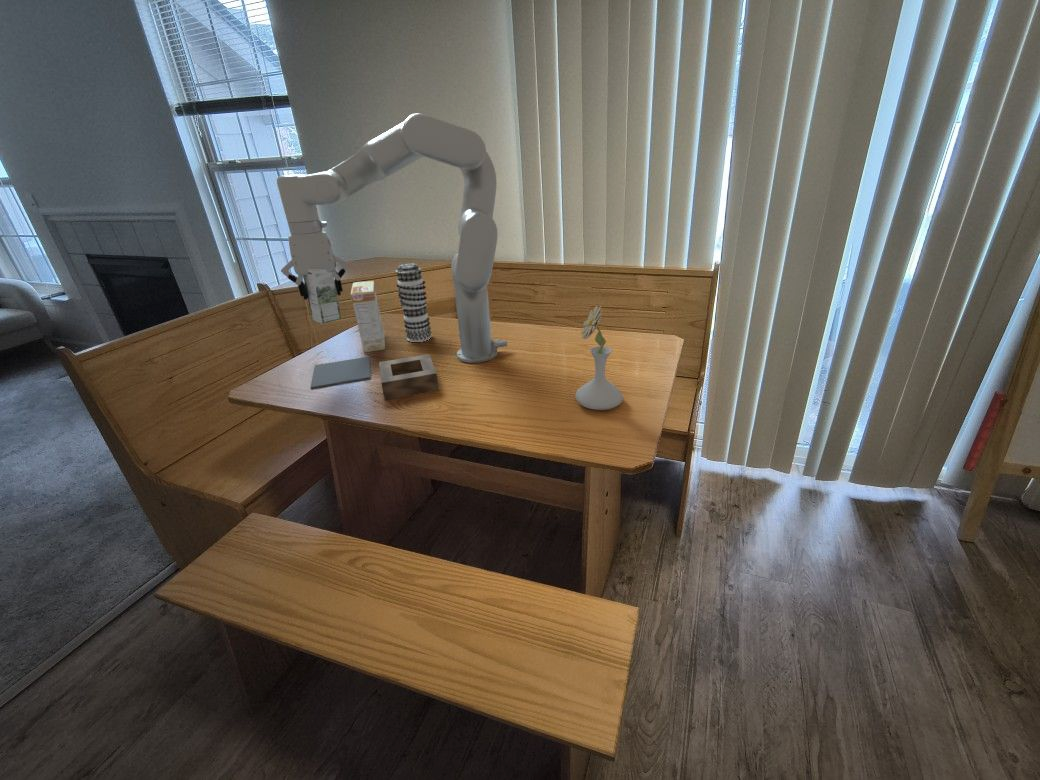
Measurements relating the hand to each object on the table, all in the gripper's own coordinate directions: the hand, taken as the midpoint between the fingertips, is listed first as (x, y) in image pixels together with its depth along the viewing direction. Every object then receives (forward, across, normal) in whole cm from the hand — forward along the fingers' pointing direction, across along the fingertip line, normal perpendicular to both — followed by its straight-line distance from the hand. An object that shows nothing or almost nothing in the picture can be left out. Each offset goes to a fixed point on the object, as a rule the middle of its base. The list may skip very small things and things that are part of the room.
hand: (322, 296), depth 122 cm
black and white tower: (+23, -25, -19) cm, 39 cm away
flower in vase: (+23, -60, +46) cm, 79 cm away
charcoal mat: (+23, 0, 0) cm, 23 cm away
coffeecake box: (+23, -10, -21) cm, 33 cm away
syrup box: (+7, 0, 0) cm, 7 cm away
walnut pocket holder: (+23, -18, +16) cm, 33 cm away
